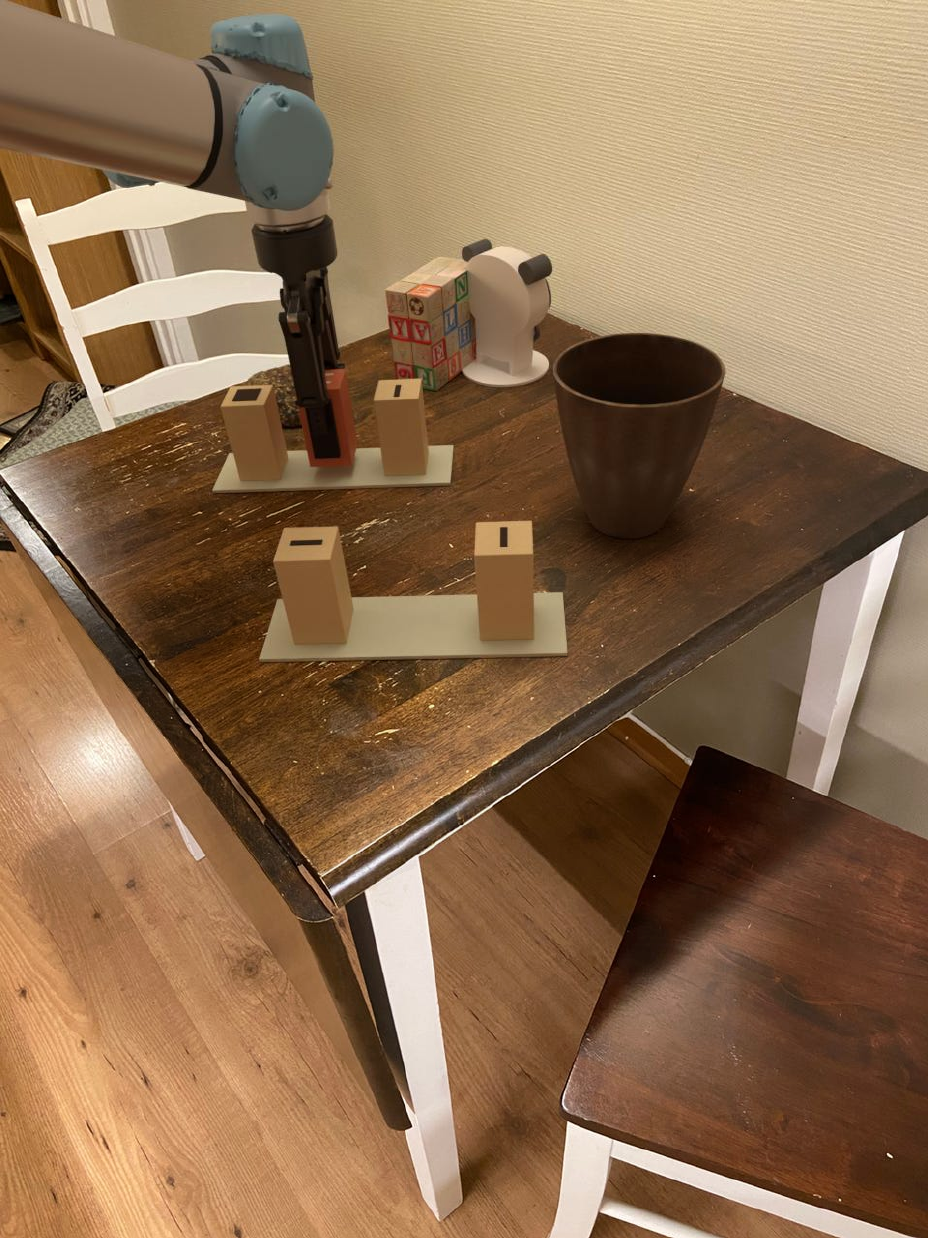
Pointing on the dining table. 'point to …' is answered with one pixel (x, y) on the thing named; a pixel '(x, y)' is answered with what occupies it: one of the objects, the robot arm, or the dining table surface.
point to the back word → (274, 468)
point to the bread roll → (280, 392)
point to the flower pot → (634, 424)
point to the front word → (412, 606)
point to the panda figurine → (506, 313)
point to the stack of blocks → (432, 323)
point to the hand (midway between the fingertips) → (331, 443)
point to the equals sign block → (343, 420)
